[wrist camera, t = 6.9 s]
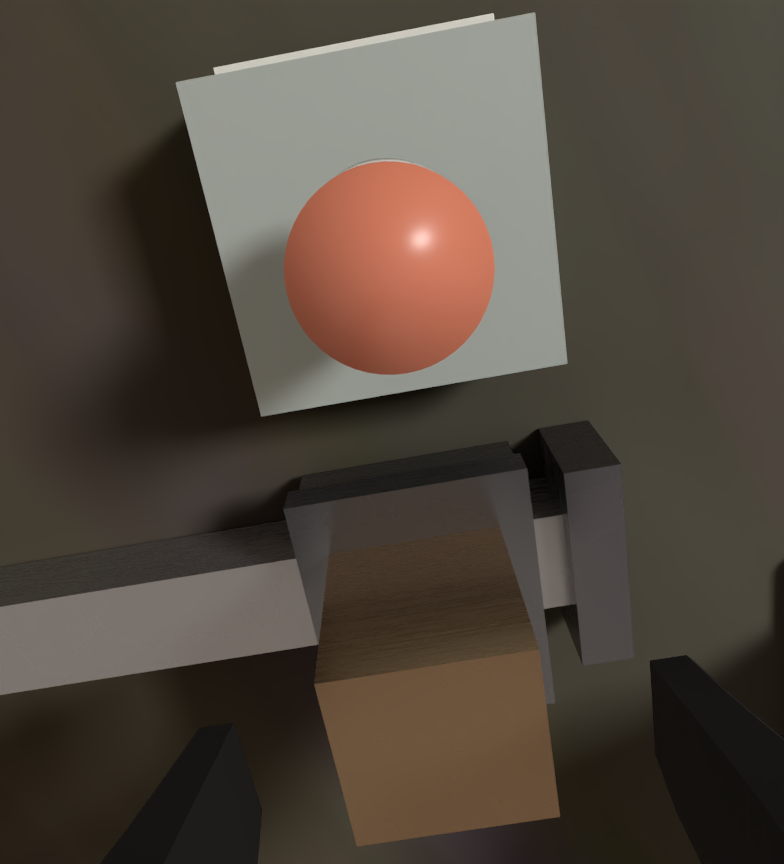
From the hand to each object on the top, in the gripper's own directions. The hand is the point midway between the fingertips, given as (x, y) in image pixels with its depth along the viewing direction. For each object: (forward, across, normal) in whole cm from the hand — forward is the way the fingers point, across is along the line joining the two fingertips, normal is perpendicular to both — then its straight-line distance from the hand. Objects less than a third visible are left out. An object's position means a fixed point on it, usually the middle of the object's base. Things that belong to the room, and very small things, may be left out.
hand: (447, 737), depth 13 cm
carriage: (+7, 0, 0) cm, 7 cm away
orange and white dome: (+2, 0, -8) cm, 8 cm away
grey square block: (+7, 0, -8) cm, 11 cm away
